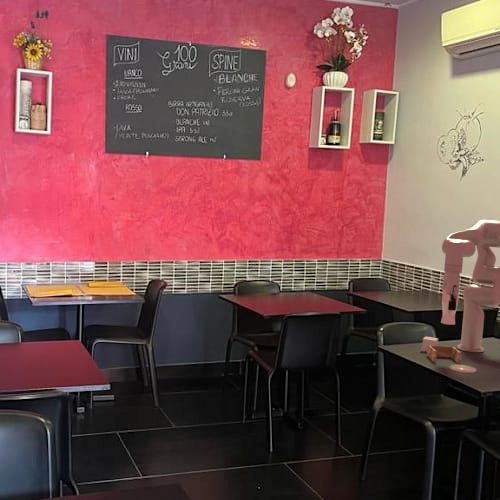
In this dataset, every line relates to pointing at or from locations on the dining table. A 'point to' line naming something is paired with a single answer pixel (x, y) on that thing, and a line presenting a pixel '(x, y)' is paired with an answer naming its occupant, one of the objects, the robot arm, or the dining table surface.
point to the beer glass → (447, 314)
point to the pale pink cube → (429, 342)
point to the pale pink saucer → (462, 368)
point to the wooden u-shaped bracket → (443, 352)
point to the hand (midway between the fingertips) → (449, 308)
